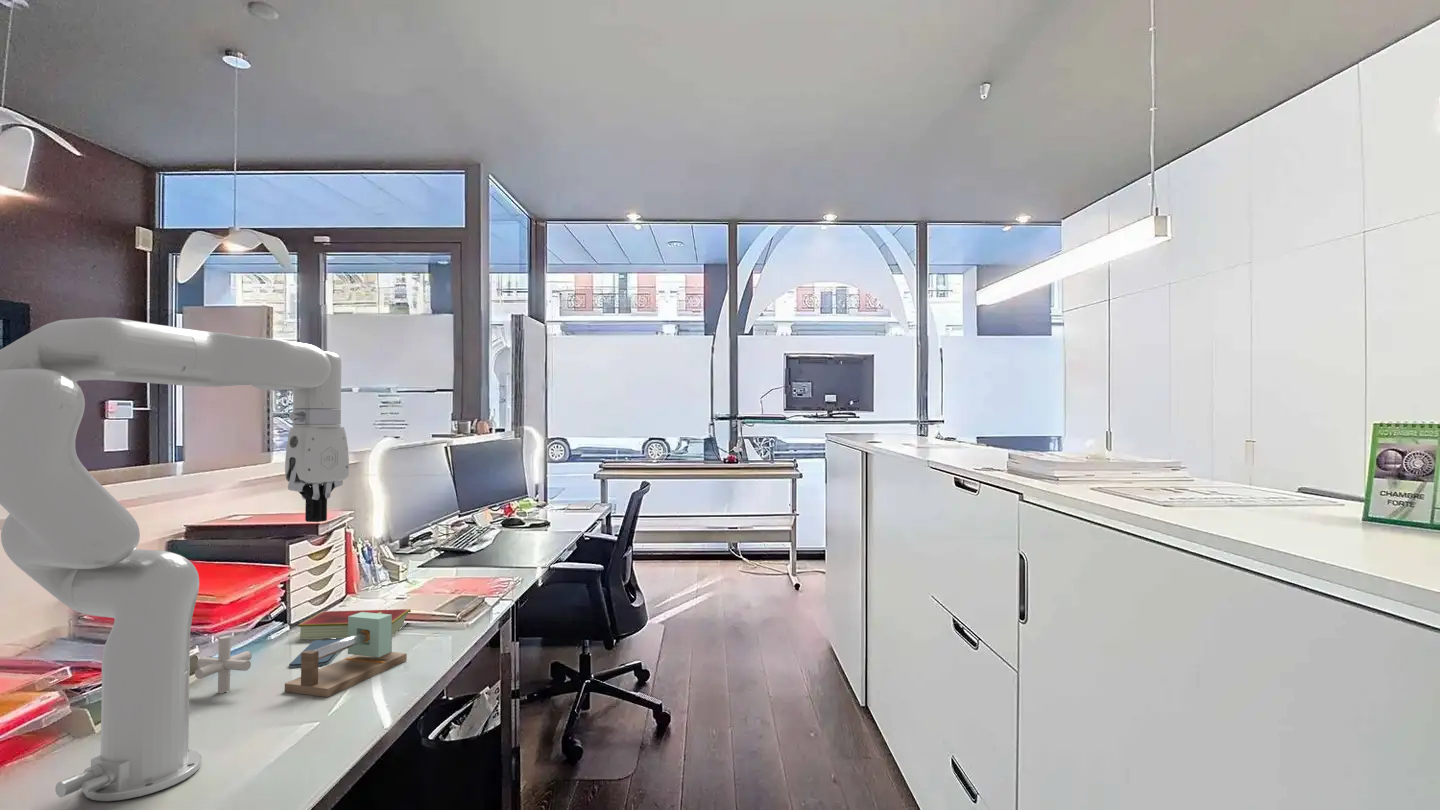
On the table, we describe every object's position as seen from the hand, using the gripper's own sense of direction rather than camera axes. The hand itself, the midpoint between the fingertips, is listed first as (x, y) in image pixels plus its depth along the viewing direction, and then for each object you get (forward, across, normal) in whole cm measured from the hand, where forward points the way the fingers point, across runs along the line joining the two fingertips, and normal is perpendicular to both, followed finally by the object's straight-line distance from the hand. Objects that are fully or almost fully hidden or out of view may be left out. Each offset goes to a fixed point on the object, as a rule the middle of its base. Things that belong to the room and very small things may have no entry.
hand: (316, 521), depth 124 cm
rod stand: (+32, +12, +4) cm, 35 cm away
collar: (+29, +17, +4) cm, 34 cm away
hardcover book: (+33, +36, +26) cm, 55 cm away
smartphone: (+33, +20, +20) cm, 43 cm away
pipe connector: (+32, -1, +20) cm, 38 cm away
